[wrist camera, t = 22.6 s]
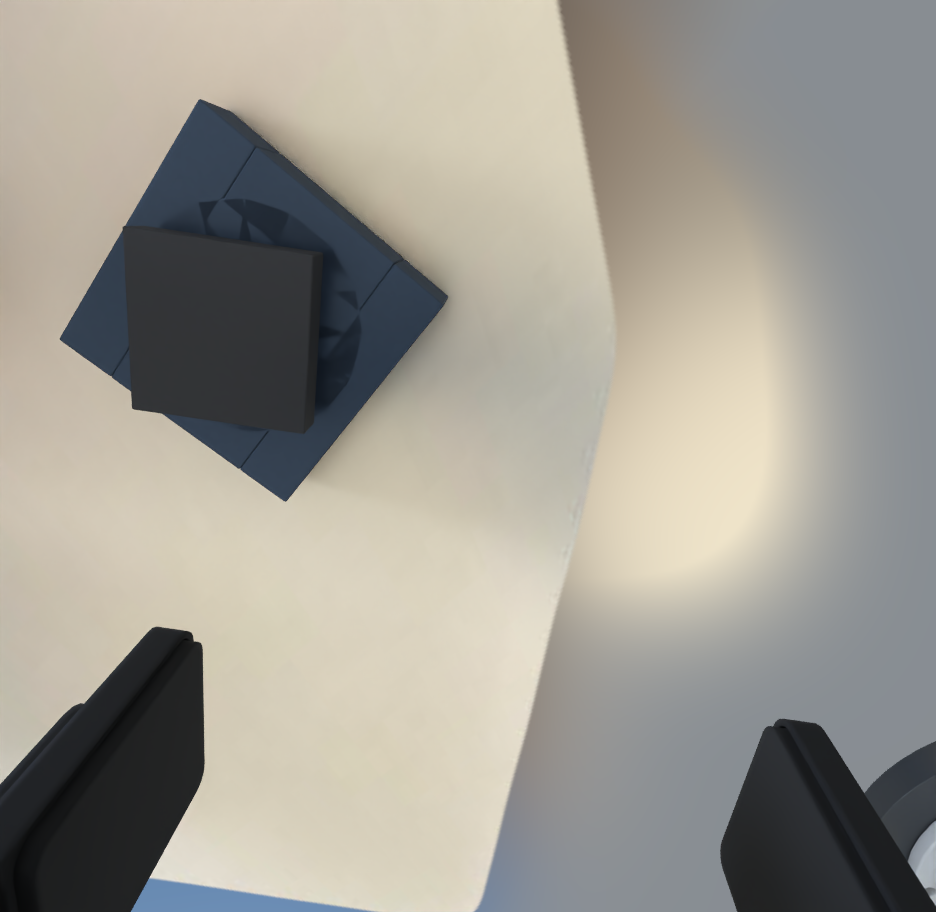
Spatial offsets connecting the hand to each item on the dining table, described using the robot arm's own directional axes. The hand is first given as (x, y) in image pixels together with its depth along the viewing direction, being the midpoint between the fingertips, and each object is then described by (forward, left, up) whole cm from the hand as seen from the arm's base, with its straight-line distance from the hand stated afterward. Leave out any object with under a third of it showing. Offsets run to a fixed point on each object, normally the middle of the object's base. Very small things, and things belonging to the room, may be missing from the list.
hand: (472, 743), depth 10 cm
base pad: (+10, +3, -22) cm, 24 cm away
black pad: (+10, +3, -22) cm, 24 cm away
